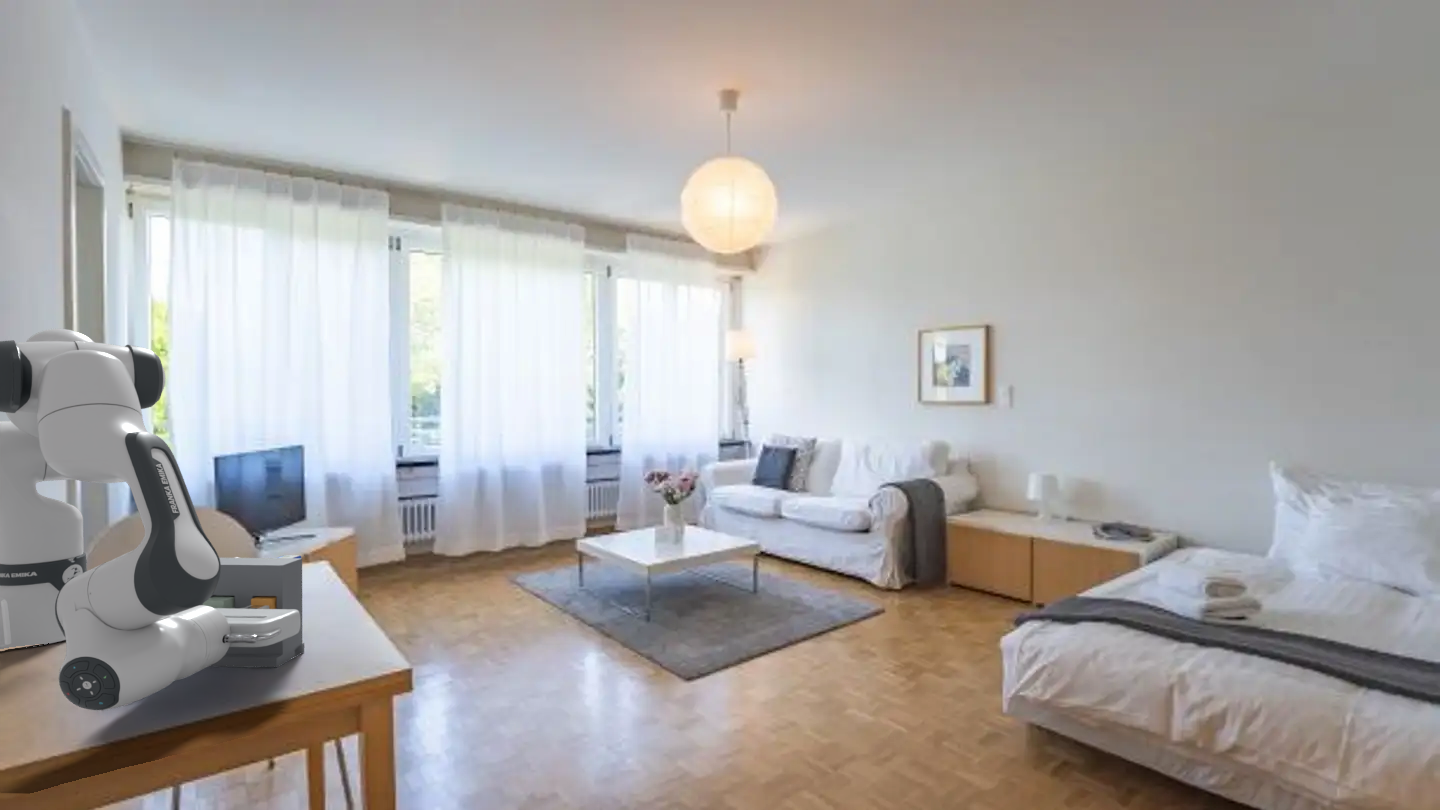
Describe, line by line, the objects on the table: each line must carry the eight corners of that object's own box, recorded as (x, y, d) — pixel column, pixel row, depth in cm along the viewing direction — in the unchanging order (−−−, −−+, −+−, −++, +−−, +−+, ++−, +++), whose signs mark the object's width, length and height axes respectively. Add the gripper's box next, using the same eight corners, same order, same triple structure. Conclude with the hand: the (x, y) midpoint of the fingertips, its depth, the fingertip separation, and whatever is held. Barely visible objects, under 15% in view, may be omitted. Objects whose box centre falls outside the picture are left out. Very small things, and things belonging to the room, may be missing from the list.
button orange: (251, 620, 112) (251, 599, 112) (264, 614, 115) (263, 593, 115) (271, 620, 112) (271, 599, 112) (284, 614, 115) (284, 594, 115)
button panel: (155, 665, 112) (154, 566, 112) (190, 650, 119) (189, 556, 119) (276, 667, 111) (276, 567, 111) (304, 651, 118) (304, 557, 118)
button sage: (202, 621, 111) (202, 600, 111) (217, 616, 114) (217, 595, 114) (223, 622, 111) (223, 601, 111) (237, 616, 114) (237, 595, 114)
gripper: (264, 618, 98) (324, 591, 112) (123, 616, 99) (200, 589, 112) (264, 663, 98) (324, 630, 112) (123, 660, 99) (200, 628, 112)
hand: (260, 610), depth 112 cm, fingers closed, pressing on button orange
